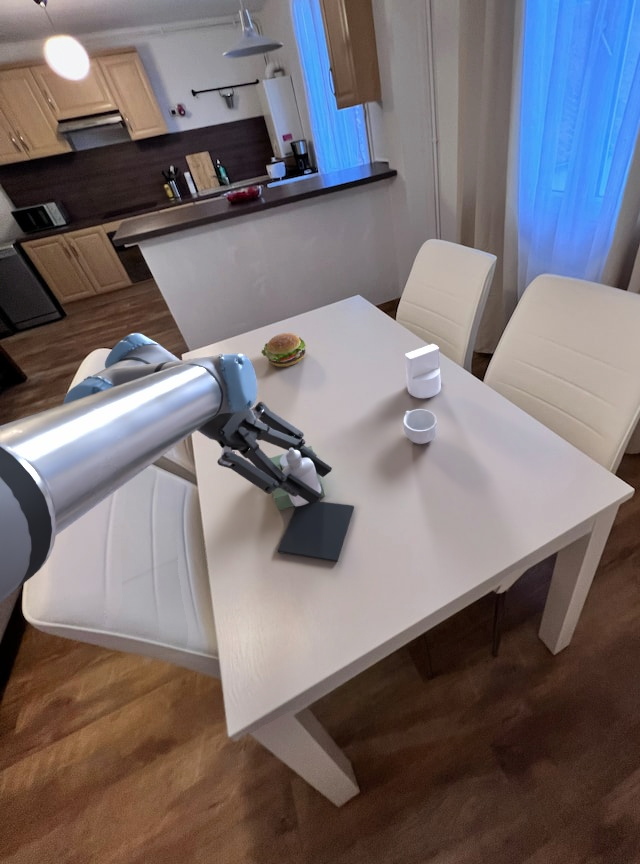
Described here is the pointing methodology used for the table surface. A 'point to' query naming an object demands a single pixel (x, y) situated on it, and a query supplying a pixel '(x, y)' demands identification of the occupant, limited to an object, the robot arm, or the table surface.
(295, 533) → the mat
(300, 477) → the eye dropper bottle
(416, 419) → the teacup
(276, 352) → the food
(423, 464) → the table surface
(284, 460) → the grey round button
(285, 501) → the green button base
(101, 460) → the robot arm
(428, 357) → the cylinder with rectangular tab
